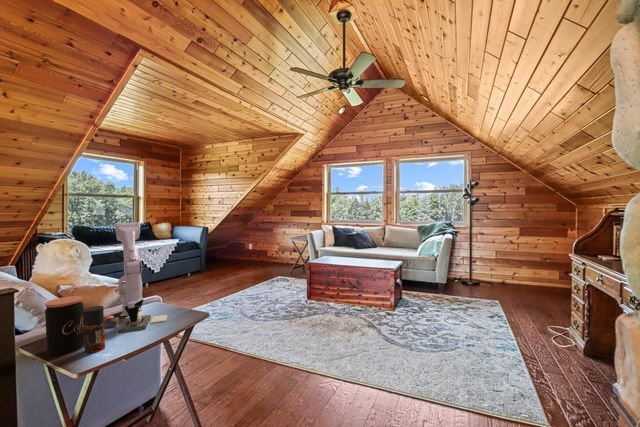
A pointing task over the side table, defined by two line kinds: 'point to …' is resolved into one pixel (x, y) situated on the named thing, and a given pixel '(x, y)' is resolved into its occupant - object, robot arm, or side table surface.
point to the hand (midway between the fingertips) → (135, 319)
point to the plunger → (109, 318)
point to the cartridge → (137, 318)
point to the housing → (126, 327)
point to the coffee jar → (64, 325)
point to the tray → (159, 319)
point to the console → (111, 323)
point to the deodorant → (94, 329)
